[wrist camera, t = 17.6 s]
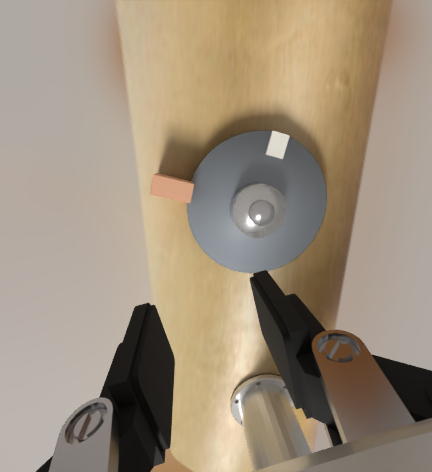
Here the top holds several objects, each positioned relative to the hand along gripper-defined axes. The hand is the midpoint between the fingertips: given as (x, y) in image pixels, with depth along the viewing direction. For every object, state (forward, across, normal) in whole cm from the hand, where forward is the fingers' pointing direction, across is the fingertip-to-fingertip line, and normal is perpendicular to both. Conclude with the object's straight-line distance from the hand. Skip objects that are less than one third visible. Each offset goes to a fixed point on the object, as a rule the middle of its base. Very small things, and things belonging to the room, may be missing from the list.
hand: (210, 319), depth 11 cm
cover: (+25, -8, +2) cm, 26 cm away
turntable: (+27, -7, +1) cm, 28 cm away
